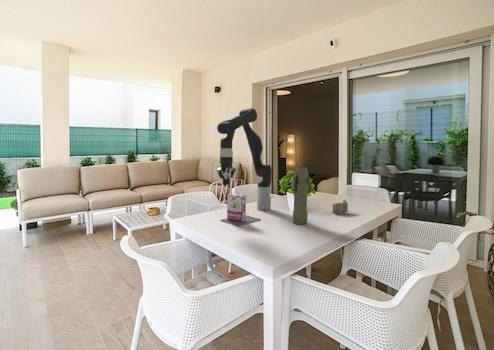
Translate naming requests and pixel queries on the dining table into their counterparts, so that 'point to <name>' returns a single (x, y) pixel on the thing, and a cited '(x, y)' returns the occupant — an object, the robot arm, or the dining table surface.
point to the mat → (248, 220)
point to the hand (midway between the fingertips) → (226, 184)
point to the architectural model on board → (340, 207)
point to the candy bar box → (236, 207)
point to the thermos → (300, 195)
